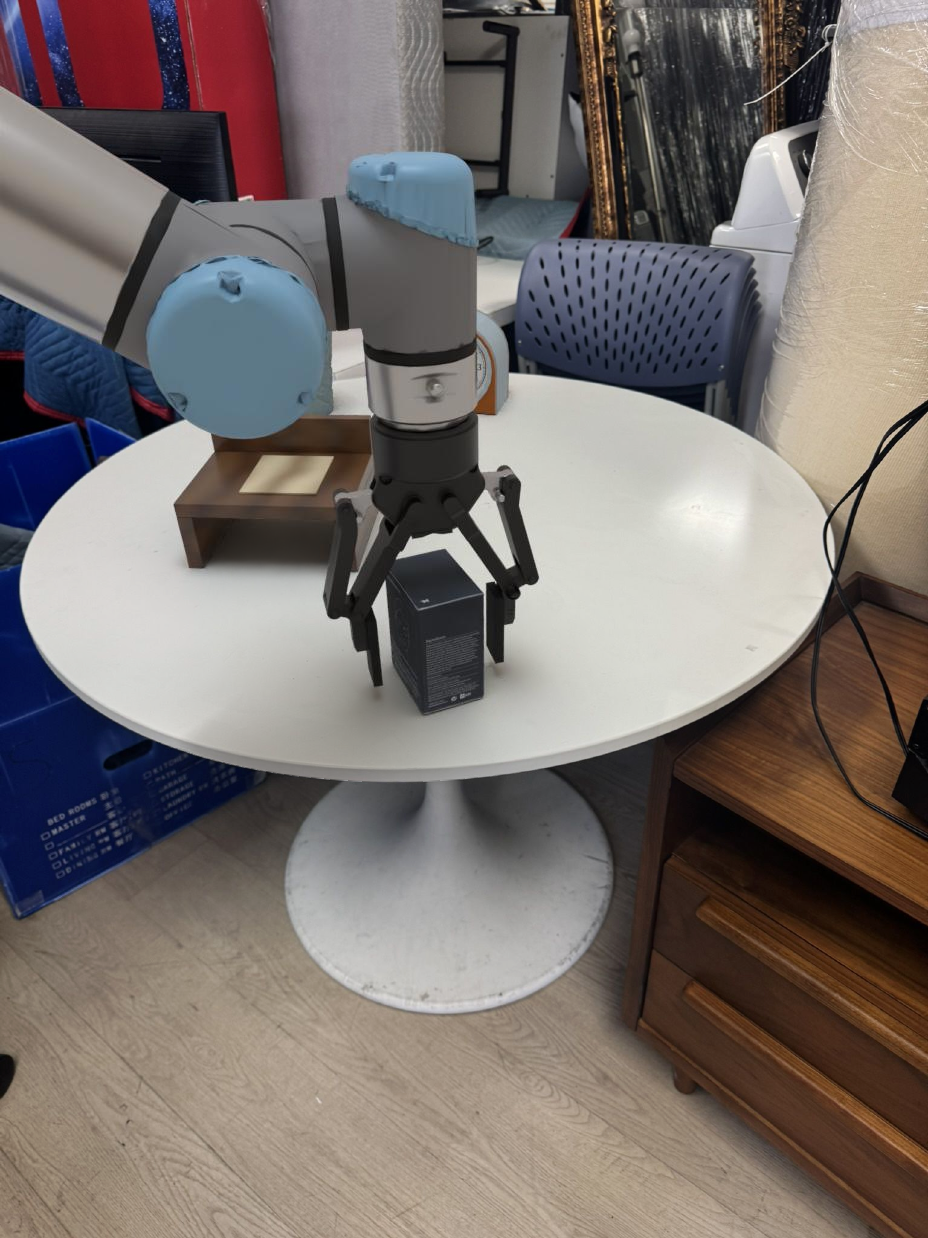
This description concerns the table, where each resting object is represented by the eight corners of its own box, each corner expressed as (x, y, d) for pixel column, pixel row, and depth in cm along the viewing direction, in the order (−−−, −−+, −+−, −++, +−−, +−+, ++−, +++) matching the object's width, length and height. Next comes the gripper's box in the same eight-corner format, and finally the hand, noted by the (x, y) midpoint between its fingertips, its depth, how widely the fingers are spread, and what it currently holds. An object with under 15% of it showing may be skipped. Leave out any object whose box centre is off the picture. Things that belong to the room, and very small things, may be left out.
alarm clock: (399, 407, 122) (393, 313, 115) (417, 387, 129) (413, 298, 121) (494, 415, 119) (495, 320, 111) (508, 395, 125) (510, 304, 118)
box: (485, 698, 68) (485, 592, 62) (422, 717, 66) (416, 610, 60) (449, 646, 74) (446, 545, 68) (390, 662, 72) (381, 560, 66)
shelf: (188, 567, 86) (163, 467, 79) (229, 505, 97) (210, 413, 91) (357, 571, 85) (346, 469, 78) (379, 508, 96) (370, 414, 89)
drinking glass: (259, 409, 123) (245, 328, 116) (315, 392, 128) (305, 313, 121) (296, 428, 116) (284, 343, 109) (353, 409, 122) (345, 327, 115)
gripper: (263, 453, 51) (309, 719, 64) (596, 411, 56) (576, 667, 68) (255, 411, 57) (298, 662, 70) (556, 376, 61) (544, 617, 74)
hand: (436, 664), depth 69 cm, fingers open, 10 cm apart
